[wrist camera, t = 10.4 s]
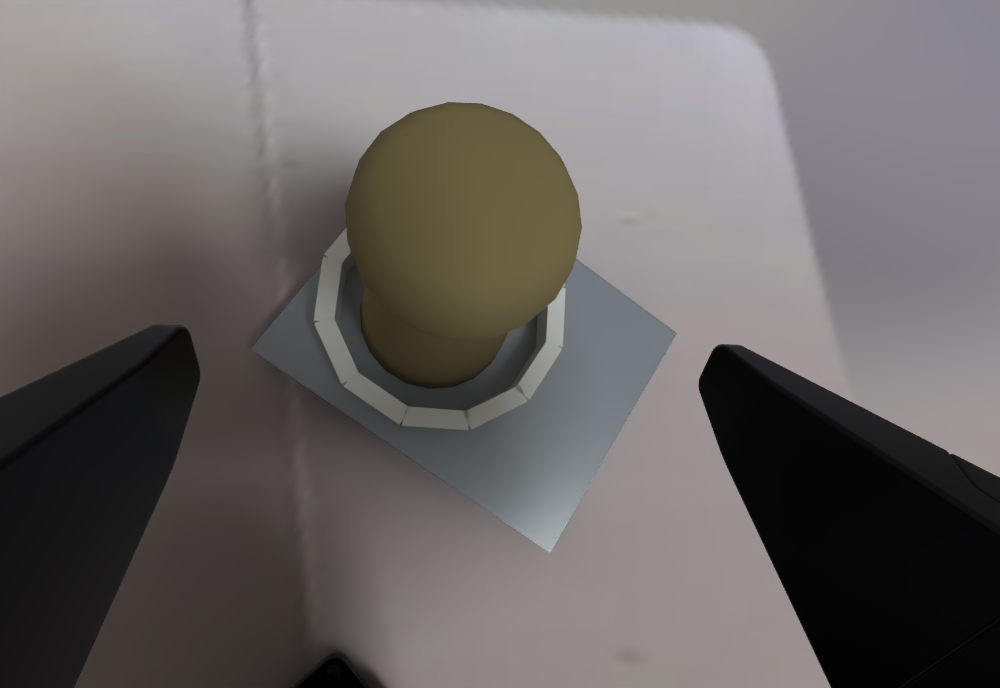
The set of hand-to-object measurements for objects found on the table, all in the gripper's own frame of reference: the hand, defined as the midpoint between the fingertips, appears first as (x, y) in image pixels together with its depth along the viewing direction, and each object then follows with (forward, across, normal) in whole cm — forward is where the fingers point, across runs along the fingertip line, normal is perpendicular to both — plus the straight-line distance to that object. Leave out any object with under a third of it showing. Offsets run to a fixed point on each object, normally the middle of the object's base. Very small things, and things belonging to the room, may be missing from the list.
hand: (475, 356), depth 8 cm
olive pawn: (+10, 0, +6) cm, 12 cm away
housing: (+10, -2, +7) cm, 13 cm away
